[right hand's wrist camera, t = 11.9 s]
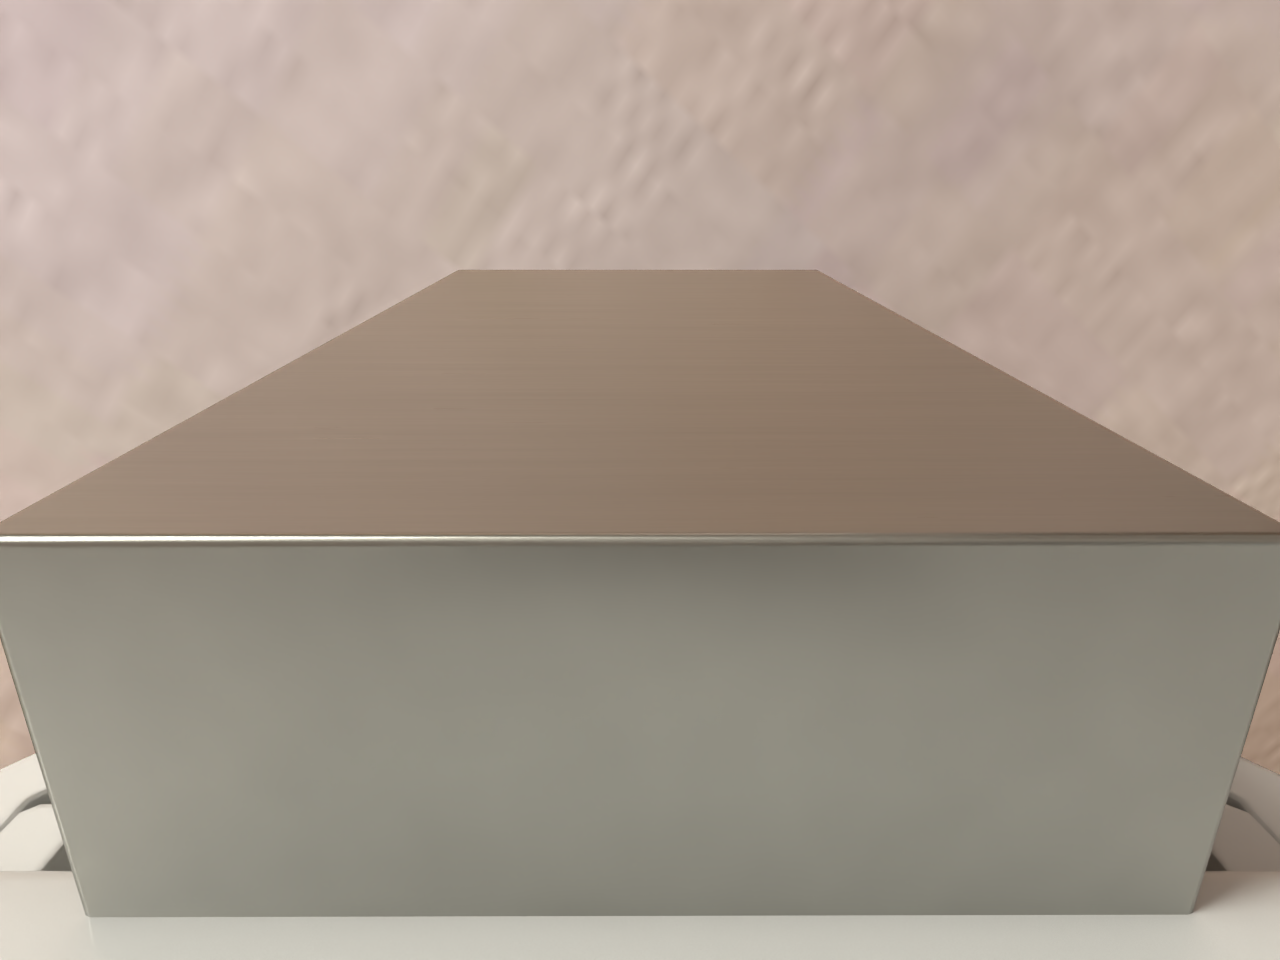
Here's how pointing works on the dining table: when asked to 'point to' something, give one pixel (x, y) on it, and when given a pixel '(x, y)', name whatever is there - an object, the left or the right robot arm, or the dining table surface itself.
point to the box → (638, 625)
